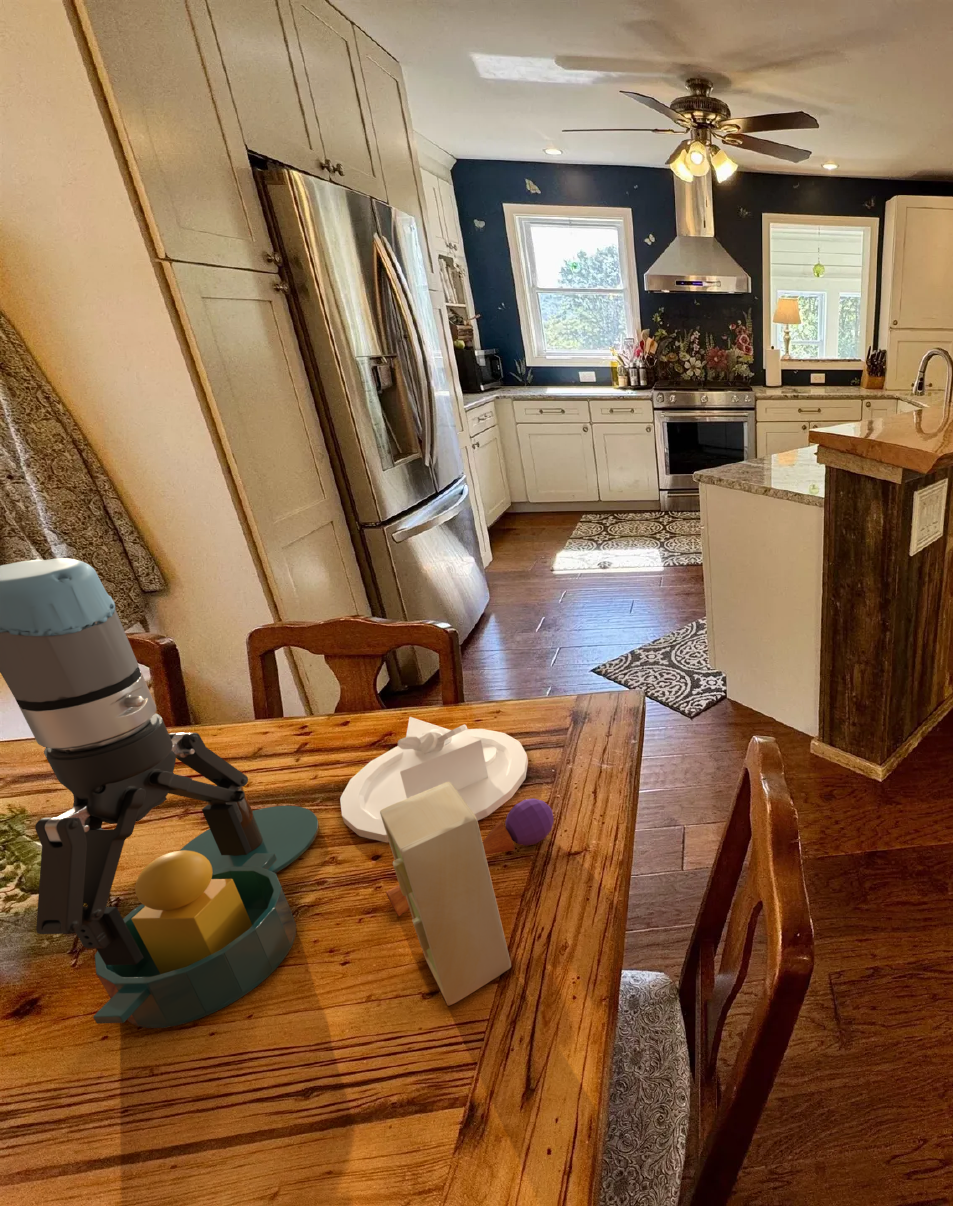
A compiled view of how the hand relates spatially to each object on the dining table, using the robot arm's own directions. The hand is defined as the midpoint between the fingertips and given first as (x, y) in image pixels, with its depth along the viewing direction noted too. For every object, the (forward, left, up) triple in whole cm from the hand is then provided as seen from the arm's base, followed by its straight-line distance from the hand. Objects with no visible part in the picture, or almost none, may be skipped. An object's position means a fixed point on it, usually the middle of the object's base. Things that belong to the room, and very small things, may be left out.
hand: (186, 902), depth 66 cm
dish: (+10, +30, -9) cm, 33 cm away
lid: (-8, +16, -8) cm, 20 cm away
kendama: (+23, +13, -9) cm, 28 cm away
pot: (0, 0, -9) cm, 9 cm away
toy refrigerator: (+27, -1, -9) cm, 28 cm away
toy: (0, 0, -8) cm, 8 cm away
